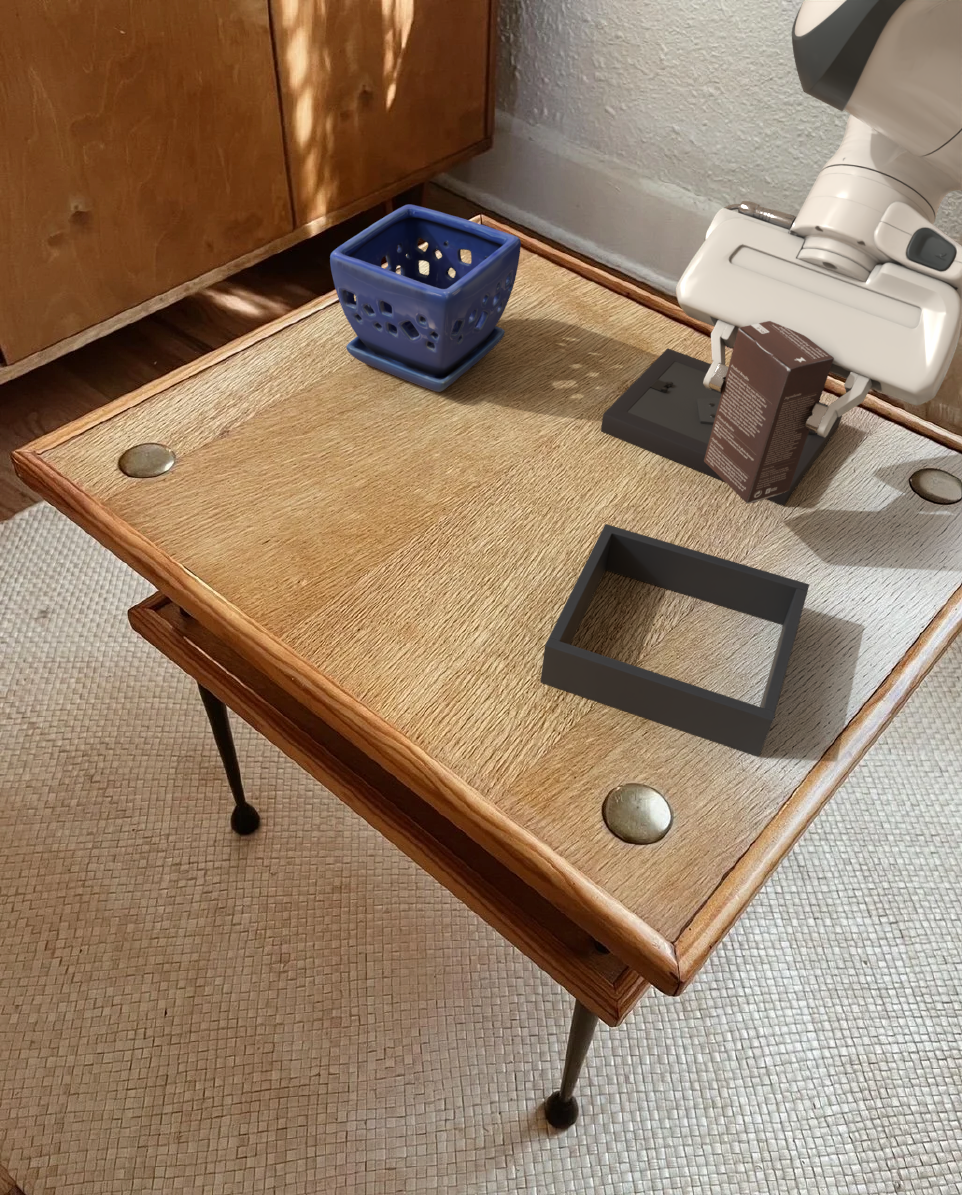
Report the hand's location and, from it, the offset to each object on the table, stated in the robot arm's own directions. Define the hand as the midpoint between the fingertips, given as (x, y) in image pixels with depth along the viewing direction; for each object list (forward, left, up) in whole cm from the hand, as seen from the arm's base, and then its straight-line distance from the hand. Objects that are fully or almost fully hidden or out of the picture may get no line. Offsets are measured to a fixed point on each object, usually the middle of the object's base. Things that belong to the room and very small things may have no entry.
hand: (763, 410), depth 75 cm
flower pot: (+33, -13, -12) cm, 37 cm away
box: (0, -1, -7) cm, 7 cm away
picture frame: (+4, -14, -12) cm, 19 cm away
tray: (+1, +14, -12) cm, 19 cm away
